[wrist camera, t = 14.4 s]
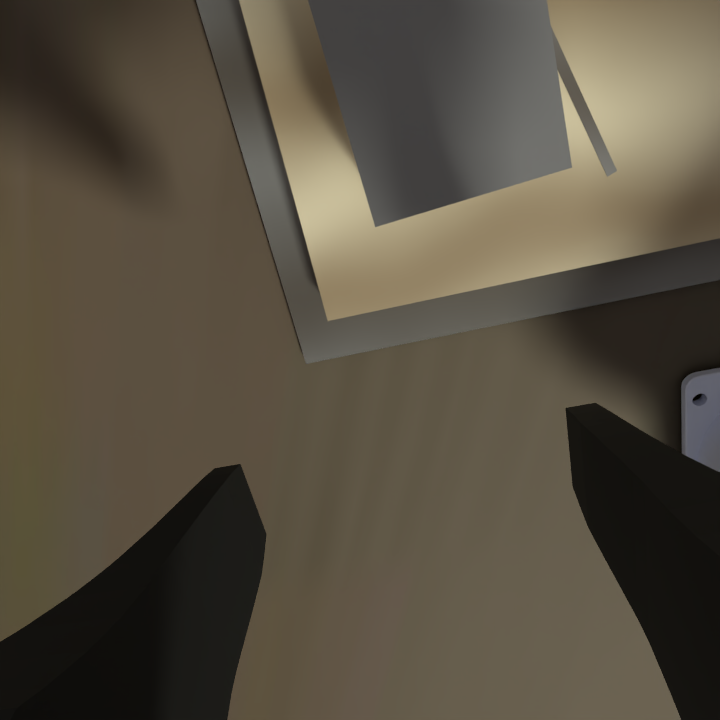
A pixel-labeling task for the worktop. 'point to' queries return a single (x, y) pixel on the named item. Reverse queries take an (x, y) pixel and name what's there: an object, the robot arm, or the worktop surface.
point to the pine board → (495, 209)
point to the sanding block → (444, 97)
